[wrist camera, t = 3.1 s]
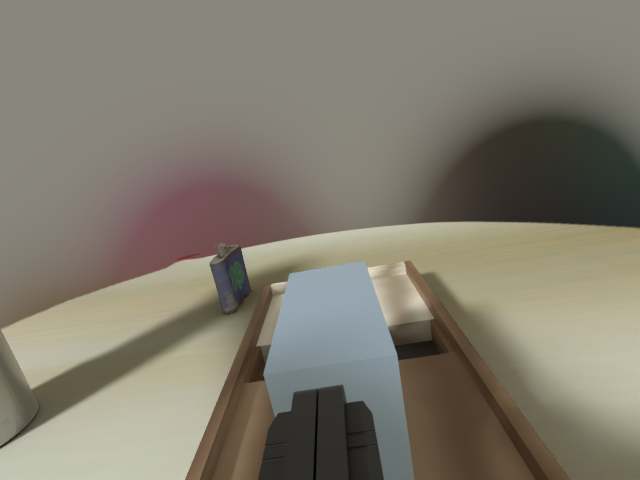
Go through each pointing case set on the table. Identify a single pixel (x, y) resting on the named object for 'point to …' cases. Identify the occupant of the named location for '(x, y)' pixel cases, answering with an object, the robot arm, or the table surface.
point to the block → (341, 353)
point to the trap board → (417, 387)
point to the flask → (230, 277)
